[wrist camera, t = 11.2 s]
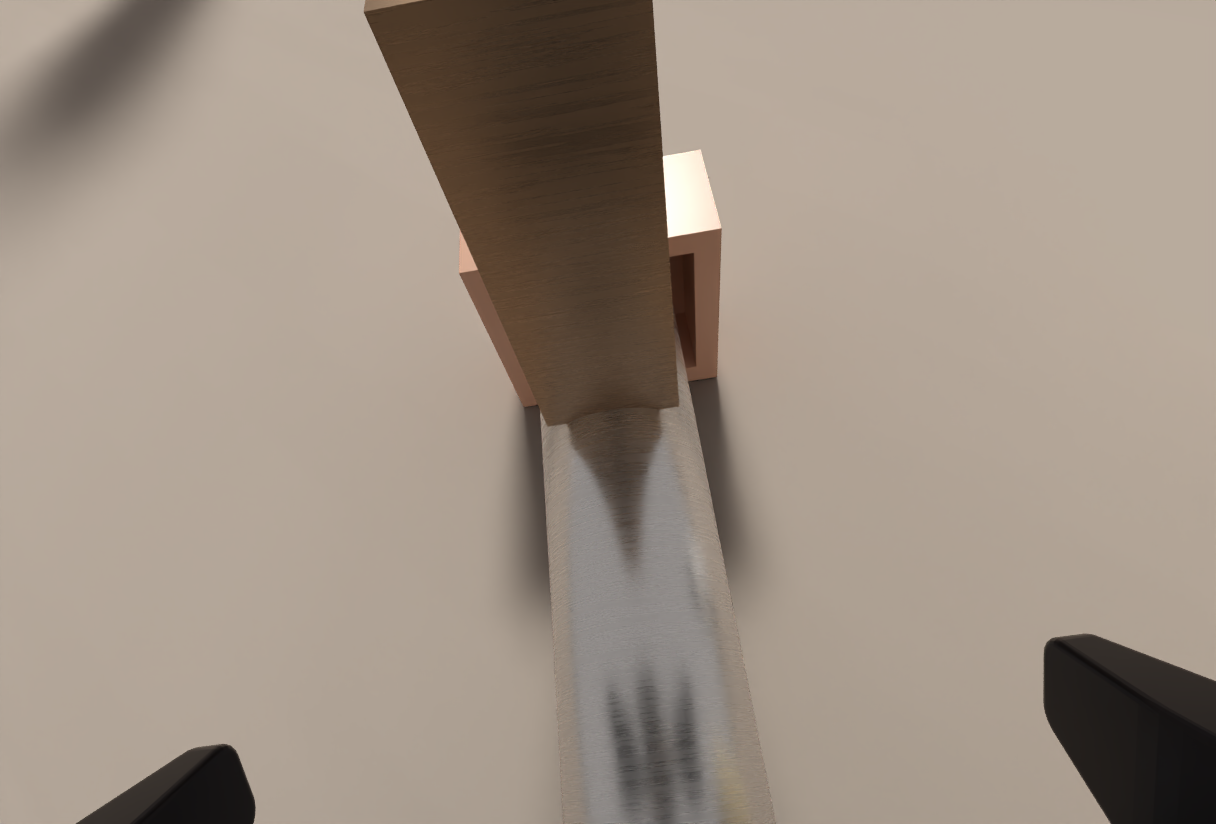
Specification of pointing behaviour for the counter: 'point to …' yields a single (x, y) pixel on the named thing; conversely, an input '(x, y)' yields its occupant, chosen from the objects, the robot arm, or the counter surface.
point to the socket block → (690, 269)
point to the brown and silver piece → (594, 386)
